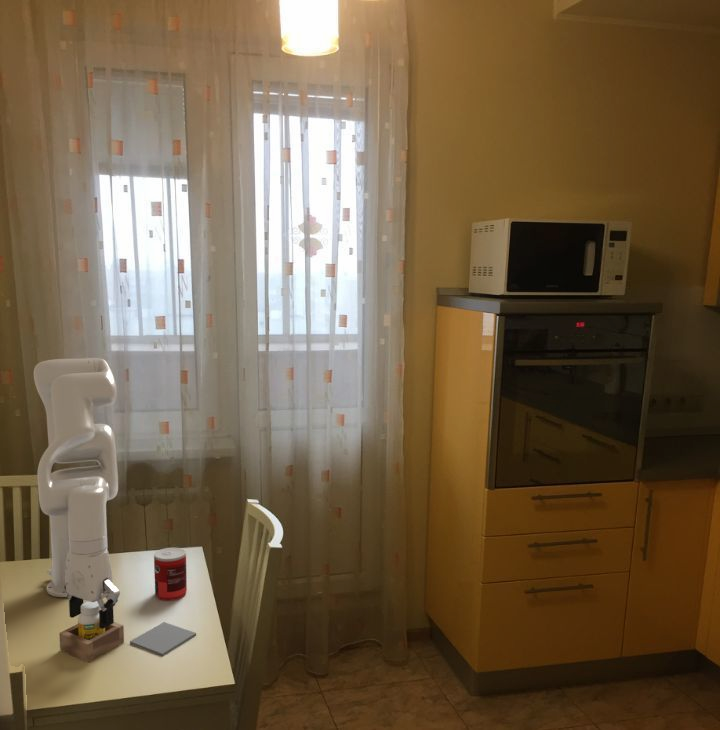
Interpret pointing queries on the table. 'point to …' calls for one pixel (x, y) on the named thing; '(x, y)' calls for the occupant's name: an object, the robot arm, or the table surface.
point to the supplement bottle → (89, 621)
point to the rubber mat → (163, 638)
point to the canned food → (170, 573)
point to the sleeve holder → (91, 642)
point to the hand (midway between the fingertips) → (91, 620)
